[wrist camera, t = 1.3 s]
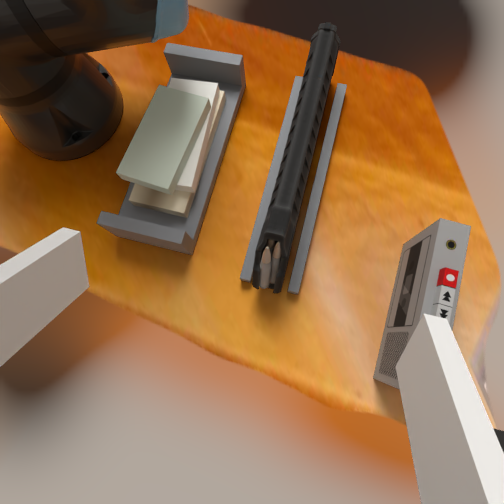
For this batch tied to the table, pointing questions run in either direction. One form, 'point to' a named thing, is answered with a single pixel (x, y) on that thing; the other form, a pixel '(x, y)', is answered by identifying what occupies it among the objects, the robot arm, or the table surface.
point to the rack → (187, 229)
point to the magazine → (296, 162)
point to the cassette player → (422, 289)
